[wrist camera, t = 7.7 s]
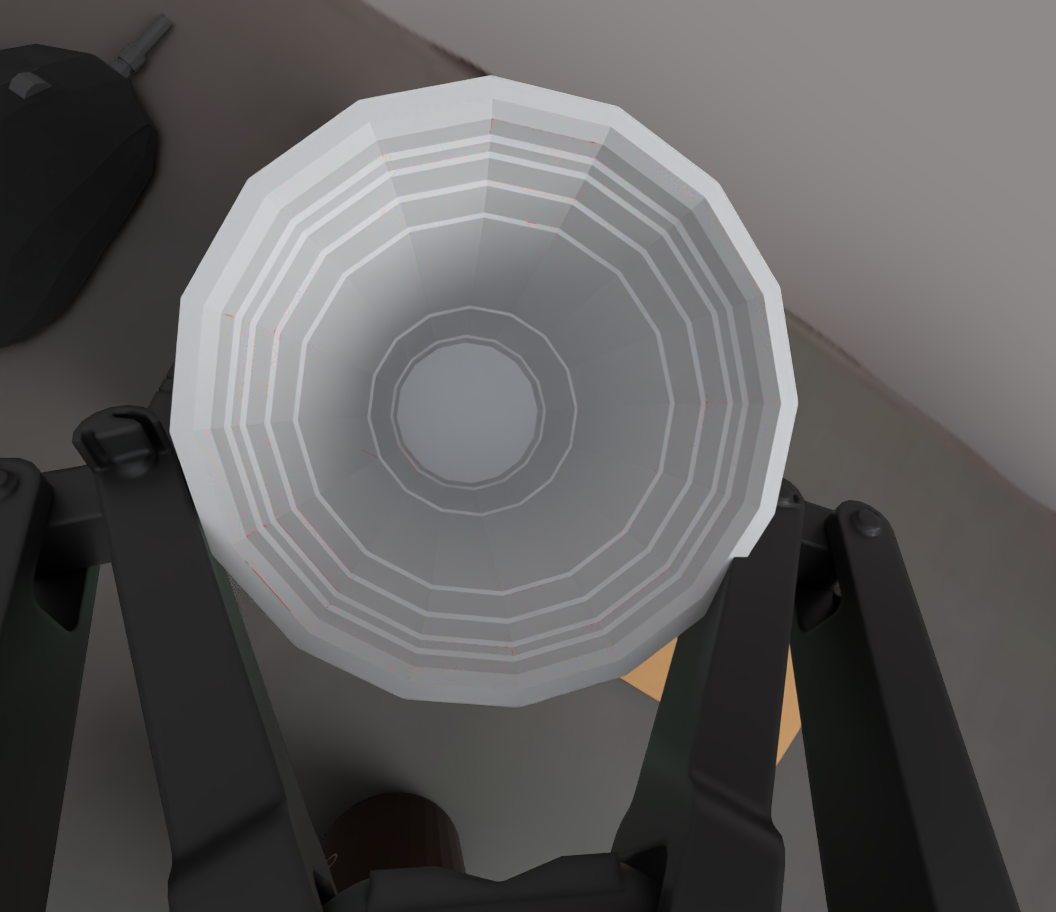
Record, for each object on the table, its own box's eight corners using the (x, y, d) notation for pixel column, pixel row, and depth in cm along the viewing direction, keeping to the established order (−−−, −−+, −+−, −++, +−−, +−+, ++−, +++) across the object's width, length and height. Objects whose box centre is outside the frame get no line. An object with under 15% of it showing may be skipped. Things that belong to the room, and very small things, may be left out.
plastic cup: (251, 427, 19) (-34, 440, 7) (452, 213, 20) (484, -84, 8) (475, 610, 21) (531, 852, 9) (651, 409, 22) (908, 397, 10)
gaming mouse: (244, 78, 21) (198, 0, 17) (18, 384, 20) (-82, 376, 17) (93, -37, 20) (7, -150, 16) (-150, 282, 19) (-300, 247, 15)
